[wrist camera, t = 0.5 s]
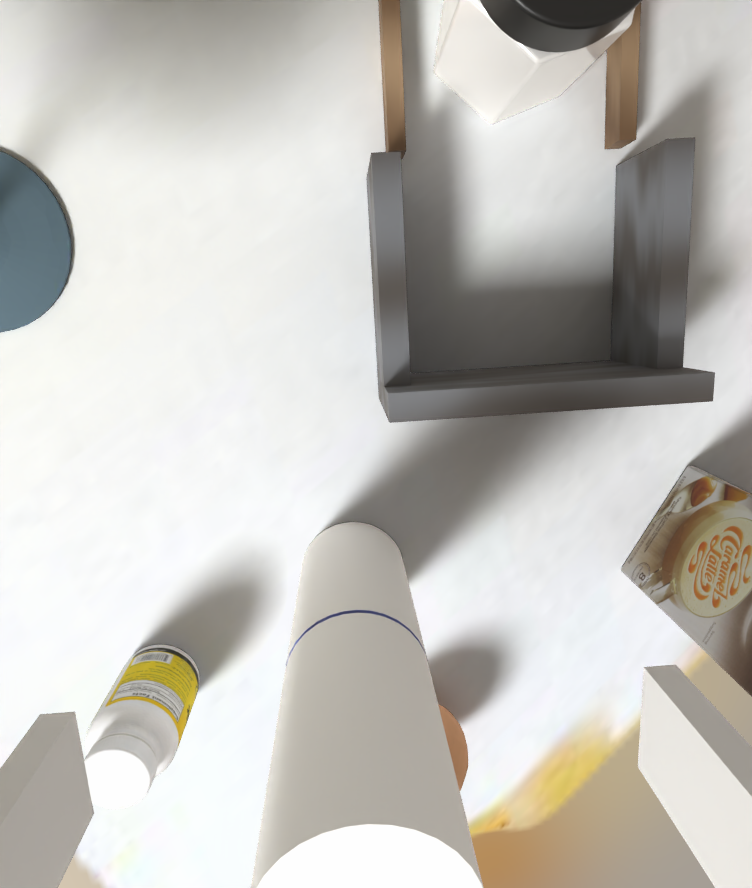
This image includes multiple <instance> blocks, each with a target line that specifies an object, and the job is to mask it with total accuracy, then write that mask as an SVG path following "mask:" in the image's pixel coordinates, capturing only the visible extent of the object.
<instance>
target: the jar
mask: <svg viewBox="0 0 752 888" xmlns="http://www.w3.org/2000/svg"><path fill="white" fill-rule="evenodd" d="M641 1H642V0H443V5H442V12H441V19H440V26H439V33H438V40H437V47H436V53H435V60H434V67H433V73H434V74H435V75H436V76H437V77H438V78H439V79H440V80H441V81H442V82H443V83H444V84H445V85H447V86H448V87H449V88H450V89H451V90H452V91H453V92H454V93H455V94H456V95H458V96H459V97H460V98H461V99H462V100H463V101H464V102H465V103H466V104H467V105H468V106H470V107H471V108H472V109H473V110H474V111H475V112H476V113H477V114H478V115H479V116H481V117H482V118H483V119H484V120H485V121H486V122H487V123H488V124H490V125H492V124H495V123H498V122H500V121H502V120H505V119H507V118H509V117H512V116H514V115H517V114H519V113H521V112H524V111H526V110H528V109H531V108H533V107H536V106H538V105H540V104H543V103H545V102H548V101H550V100H552V99H555V98H557V97H559V96H560V95H561V94H562V93H563V92H564V91H565V90H566V89H567V88H568V87H569V86H570V85H571V84H572V83H574V82H575V81H576V80H577V79H578V78H579V77H580V76H581V75H582V74H583V73H584V72H585V71H586V70H587V69H588V68H589V67H590V66H591V65H592V64H593V63H594V62H595V61H596V60H597V59H598V58H599V57H600V56H601V55H602V54H603V53H604V52H605V51H606V50H607V49H608V48H609V47H610V46H611V45H612V44H613V43H614V42H615V41H616V40H617V39H618V38H619V37H620V36H621V35H622V34H623V33H624V32H625V31H626V30H627V29H628V28H629V27H630V26H631V24H632V20H633V15H634V10H635V7H636V6H637V5H638V4H639V3H640V2H641Z"/></svg>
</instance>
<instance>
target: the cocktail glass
mask: <svg viewBox="0 0 752 888" xmlns="http://www.w3.org/2000/svg"><path fill="white" fill-rule="evenodd" d="M70 263H71V240H70V235H69V229H68V225H67V222H66V219H65V216H64V213H63V211H62V209H61V207H60V205H59V203H58V201H57V199H56V198H55V196H54V195H53V193H52V192H51V191H50V189H49V188H48V186H47V185H46V184H45V183H44V182H43V181H42V180H41V179H40V178H39V176H38V175H37V174H36V173H34V172H33V171H32V170H31V169H29V168H28V167H27V166H26V165H25V164H23V163H22V162H20V161H19V160H17V159H15V158H13V157H12V156H10V155H8V154H6V153H4V152H1V151H0V332H5V331H9V330H14V329H17V328H20V327H22V326H25V325H28V324H29V323H31V322H33V321H34V320H36V319H38V318H39V317H41V316H42V315H43V314H44V313H45V312H46V311H47V310H48V309H50V307H51V306H52V305H53V304H54V302H55V301H56V300H57V299H58V297H59V295H60V293H61V292H62V290H63V288H64V286H65V283H66V280H67V277H68V274H69V269H70Z"/></svg>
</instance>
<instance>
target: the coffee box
mask: <svg viewBox="0 0 752 888" xmlns="http://www.w3.org/2000/svg"><path fill="white" fill-rule="evenodd" d="M621 571H622V572H623V573H624V574H625V575H626V576H627V577H628V578H629V579H630V580H631V581H632V582H633V583H634V584H635V585H636V586H638V587H639V588H640V589H641V590H642V591H643V592H644V593H645V594H646V595H647V596H648V597H649V598H650V599H651V600H652V601H653V602H654V603H655V604H656V605H657V606H658V607H659V608H660V609H661V610H662V611H663V612H664V613H665V614H667V615H668V616H669V617H670V618H671V619H672V620H673V621H674V622H675V623H676V624H677V625H678V626H679V627H680V628H681V629H682V630H683V631H684V632H685V633H686V634H687V635H688V636H690V637H691V638H692V639H693V640H694V641H695V642H696V643H697V644H698V645H699V646H700V647H701V648H702V649H703V650H704V651H705V652H706V653H707V654H708V655H709V656H710V657H711V658H712V659H713V660H714V661H715V662H716V663H717V664H718V665H719V666H720V667H721V668H723V669H724V670H725V671H726V672H727V673H728V674H729V675H730V676H731V677H732V678H733V679H734V680H735V681H736V682H737V683H738V684H739V685H740V686H742V688H743V689H744V690H746V691H747V692H748V693H749V694H750V695H751V696H752V494H751V493H749V492H747V491H745V490H743V489H741V488H739V487H737V486H734V485H732V484H730V483H728V482H726V481H724V480H722V479H720V478H718V477H716V476H714V475H712V474H710V473H708V472H706V471H704V470H701V469H699V468H697V467H694V466H692V465H690V466H688V467H687V468H686V469H685V471H684V472H683V474H682V475H681V477H680V478H679V480H678V482H677V483H676V485H675V486H674V488H673V489H672V491H671V492H670V494H669V495H668V497H667V499H666V500H665V502H664V503H663V505H662V506H661V508H660V509H659V511H658V512H657V514H656V516H655V517H654V519H653V520H652V522H651V523H650V525H649V526H648V528H647V529H646V531H645V532H644V534H643V535H642V537H641V539H640V540H639V542H638V543H637V545H636V546H635V548H634V549H633V551H632V553H631V554H630V556H629V557H628V559H627V560H626V562H625V564H624V565H623V567H622V569H621Z"/></svg>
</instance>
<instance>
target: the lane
mask: <svg viewBox="0 0 752 888" xmlns="http://www.w3.org/2000/svg"><path fill="white" fill-rule="evenodd" d="M378 2H379V22H380V43H381V63H382V84H383V104H384V124H385V145H386V152H379V153H371V158H370V163H369V168H368V174H367V194H368V211H369V229H370V247H371V265H372V283H373V301H374V319H375V336H376V354H377V372H378V390H379V399H380V402H381V404H382V406H383V409H384V411H385V413H386V416H387V418H388V420H389V422H390V423H391V422H406V421H421V420H436V419H451V418H466V417H482V416H497V415H512V414H527V413H542V412H557V411H573V410H588V409H603V408H618V407H633V406H648V405H663V404H679V403H694V402H709V401H713V392H714V377H715V373H714V372H708V371H702V370H696V369H690V368H684V367H683V354H684V336H685V317H686V299H687V280H688V262H689V243H690V225H691V206H692V188H693V170H694V151H695V138H677V139H666V140H664V141H662V142H661V143H659V144H657V145H655V146H653V147H651V148H649V149H647V150H645V151H644V152H642V153H640V154H638V155H636V156H634V157H632V158H630V159H629V160H627V161H625V162H623V163H621V164H619V165H617V166H616V190H615V226H614V262H613V297H612V333H611V361H596V362H580V363H565V364H549V365H533V366H517V367H501V368H485V369H469V370H453V371H437V372H421V373H410V354H409V332H408V309H407V286H406V264H405V241H404V218H403V196H402V173H401V159H403V157H404V154H405V152H406V136H405V113H404V89H403V66H402V42H401V18H400V0H378ZM640 12H641V2H640V3H639V4H638V5H637V6H636V7H635V10H634V15H633V20H632V24H631V26H630V27H629V28H628V29H627V30H626V31H625V32H624V33H623V34H622V35H621V36H620V37H619V38H618V39H617V40H616V41H615V42H614V43H613V44H612V45H611V46H610V47H609V48H608V49H607V76H606V117H605V149H619V148H622V147H624V146H626V145H627V144H629V143H631V142H632V141H634V140H636V129H637V100H638V70H639V41H640Z"/></svg>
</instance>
